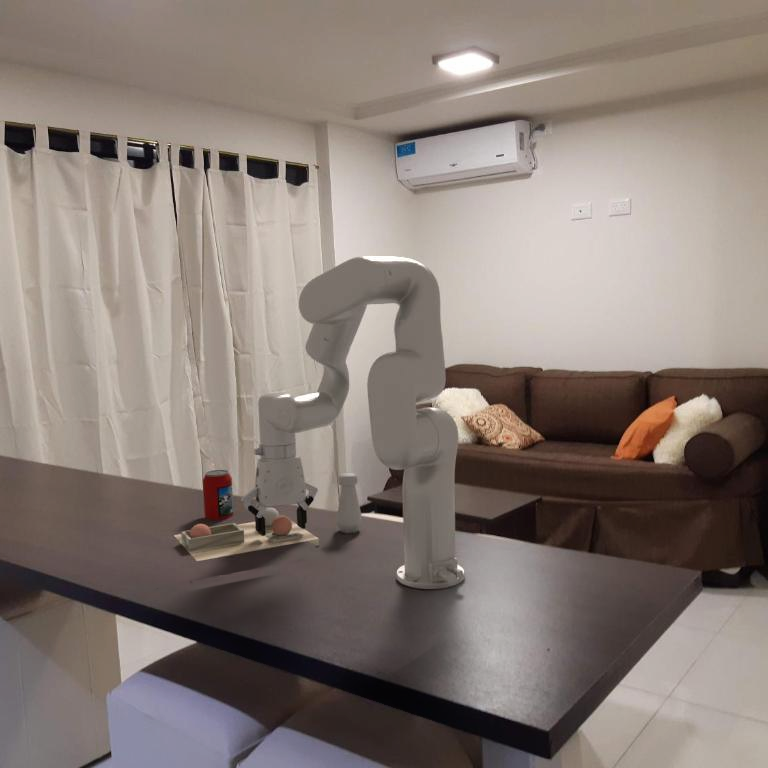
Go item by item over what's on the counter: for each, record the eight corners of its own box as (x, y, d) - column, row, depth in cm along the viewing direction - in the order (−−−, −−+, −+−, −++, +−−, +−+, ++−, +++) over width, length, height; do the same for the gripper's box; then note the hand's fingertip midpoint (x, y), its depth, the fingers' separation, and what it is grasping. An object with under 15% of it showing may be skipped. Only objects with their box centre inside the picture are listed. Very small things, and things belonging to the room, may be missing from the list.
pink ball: (214, 545, 161) (212, 525, 160) (193, 549, 159) (191, 528, 158) (208, 540, 165) (207, 520, 164) (187, 543, 163) (186, 523, 162)
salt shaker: (351, 536, 169) (348, 478, 168) (331, 532, 173) (329, 475, 171) (367, 529, 174) (365, 472, 173) (348, 525, 177) (346, 470, 176)
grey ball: (282, 527, 172) (281, 508, 171) (263, 530, 170) (262, 511, 169) (275, 522, 176) (274, 503, 175) (257, 525, 174) (256, 506, 173)
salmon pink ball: (295, 536, 165) (294, 516, 164) (276, 540, 163) (275, 519, 162) (288, 531, 169) (287, 511, 168) (269, 534, 167) (268, 515, 166)
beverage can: (230, 525, 180) (227, 475, 179) (201, 526, 181) (199, 475, 179) (236, 517, 187) (234, 468, 186) (209, 517, 187) (206, 469, 186)
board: (319, 545, 163) (318, 527, 163) (197, 568, 151) (196, 548, 151) (285, 522, 181) (285, 506, 181) (174, 541, 169) (173, 524, 169)
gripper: (244, 459, 156) (248, 542, 158) (322, 449, 165) (325, 528, 166) (233, 453, 163) (237, 533, 165) (309, 444, 171) (312, 520, 173)
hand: (281, 530), depth 166 cm, fingers open, 8 cm apart
